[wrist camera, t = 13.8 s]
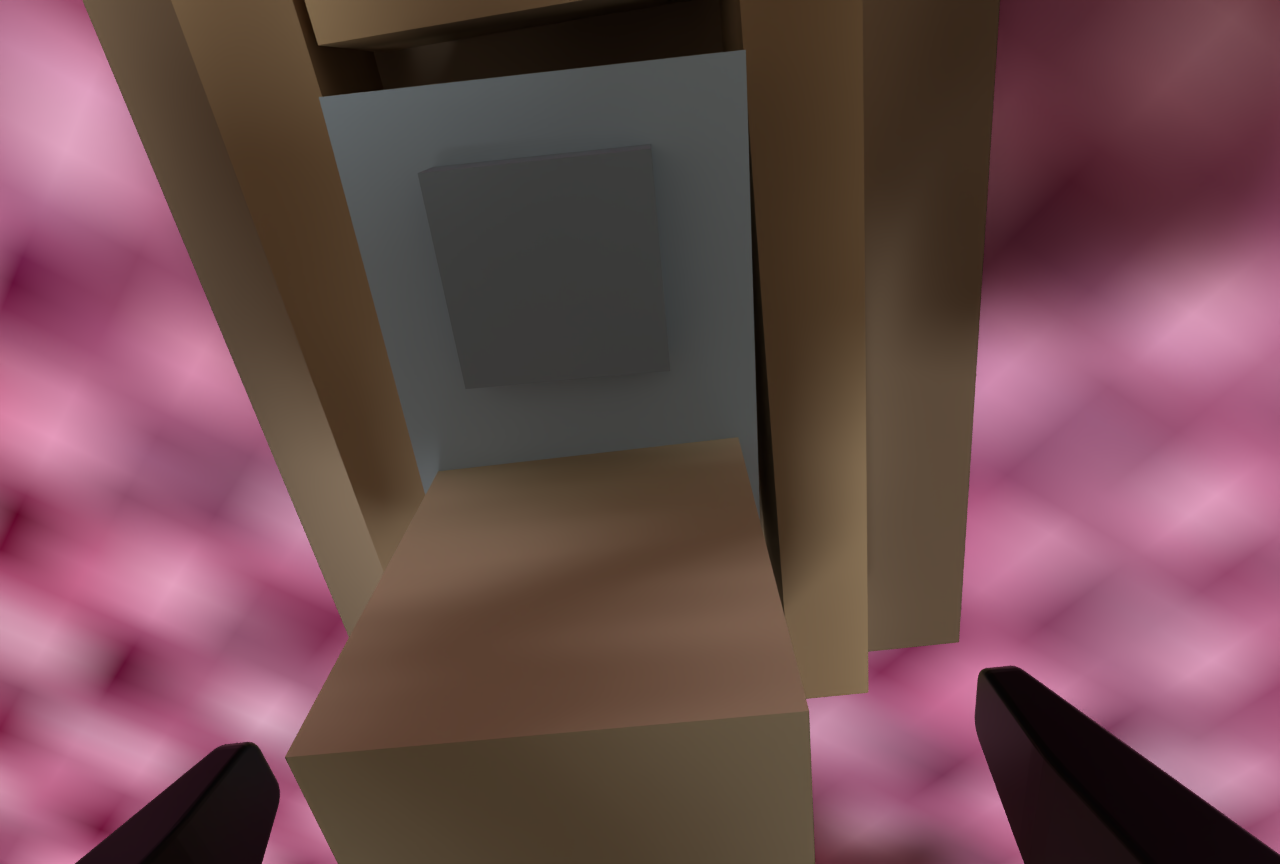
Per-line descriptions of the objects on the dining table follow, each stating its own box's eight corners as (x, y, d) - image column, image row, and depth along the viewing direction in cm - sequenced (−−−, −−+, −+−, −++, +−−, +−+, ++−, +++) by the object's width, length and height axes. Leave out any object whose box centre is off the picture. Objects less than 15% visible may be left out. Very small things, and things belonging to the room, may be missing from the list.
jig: (997, -245, 10) (1128, -368, 7) (949, 624, 17) (1008, 730, 14) (78, -72, 11) (-112, -123, 8) (384, 683, 18) (336, 793, 15)
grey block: (710, 61, 11) (752, 47, 7) (736, 570, 16) (772, 771, 11) (433, 92, 12) (293, 98, 7) (533, 585, 16) (487, 788, 11)
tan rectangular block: (737, 437, 9) (808, 710, 5) (762, 736, 12) (823, 1084, 8) (438, 470, 10) (285, 756, 6) (521, 757, 12) (458, 1103, 8)
